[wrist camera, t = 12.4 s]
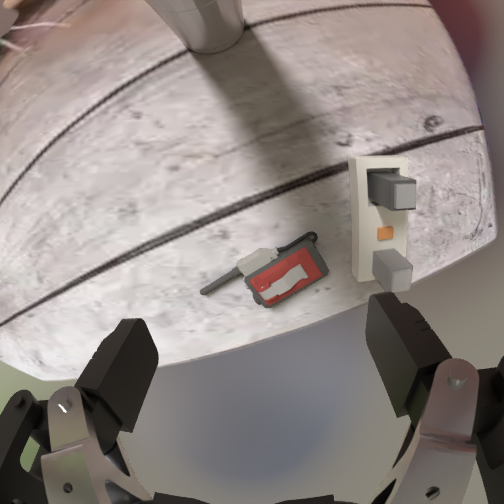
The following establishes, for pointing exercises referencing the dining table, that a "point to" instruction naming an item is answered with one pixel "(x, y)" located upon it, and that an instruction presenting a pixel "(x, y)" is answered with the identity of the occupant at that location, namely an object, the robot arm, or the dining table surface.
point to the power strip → (378, 227)
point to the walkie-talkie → (278, 271)
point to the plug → (392, 190)
